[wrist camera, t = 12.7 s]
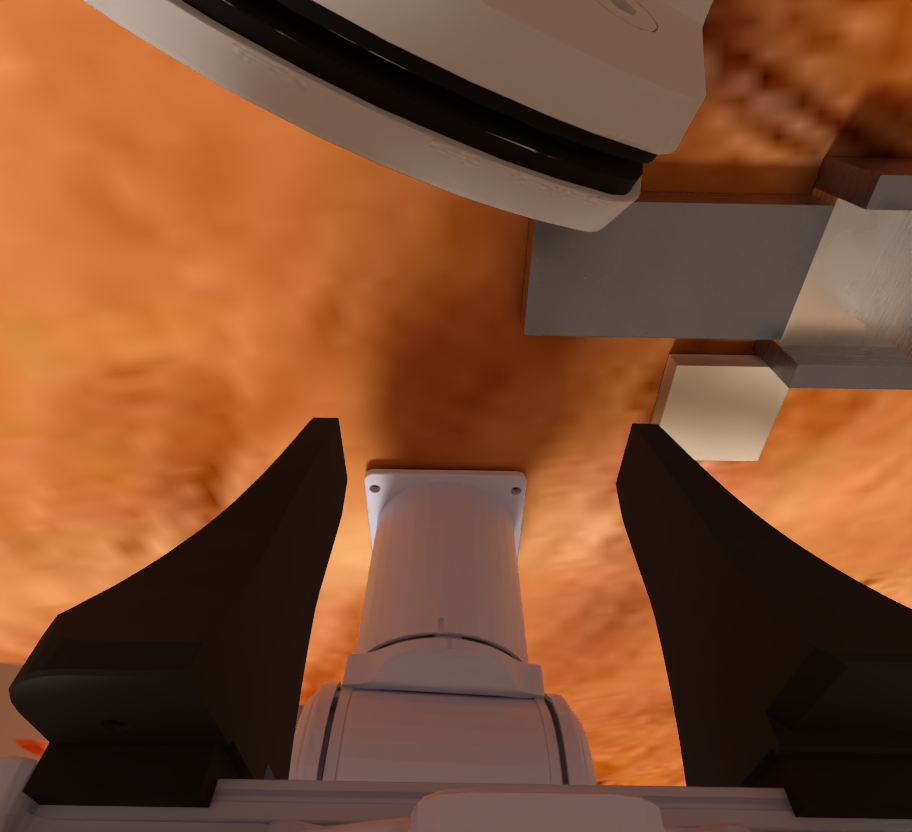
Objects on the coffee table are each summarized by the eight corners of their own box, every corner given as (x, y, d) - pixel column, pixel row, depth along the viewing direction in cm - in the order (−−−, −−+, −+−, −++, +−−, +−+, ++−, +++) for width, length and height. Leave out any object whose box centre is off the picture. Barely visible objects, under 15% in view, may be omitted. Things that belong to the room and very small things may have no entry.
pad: (747, 447, 26) (757, 461, 25) (644, 445, 26) (650, 459, 25) (786, 355, 23) (798, 367, 22) (669, 353, 23) (677, 365, 22)
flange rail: (963, 353, 23) (1024, 391, 21) (517, 346, 23) (524, 383, 20) (1084, 161, 19) (1179, 180, 16) (535, 151, 19) (547, 168, 16)
